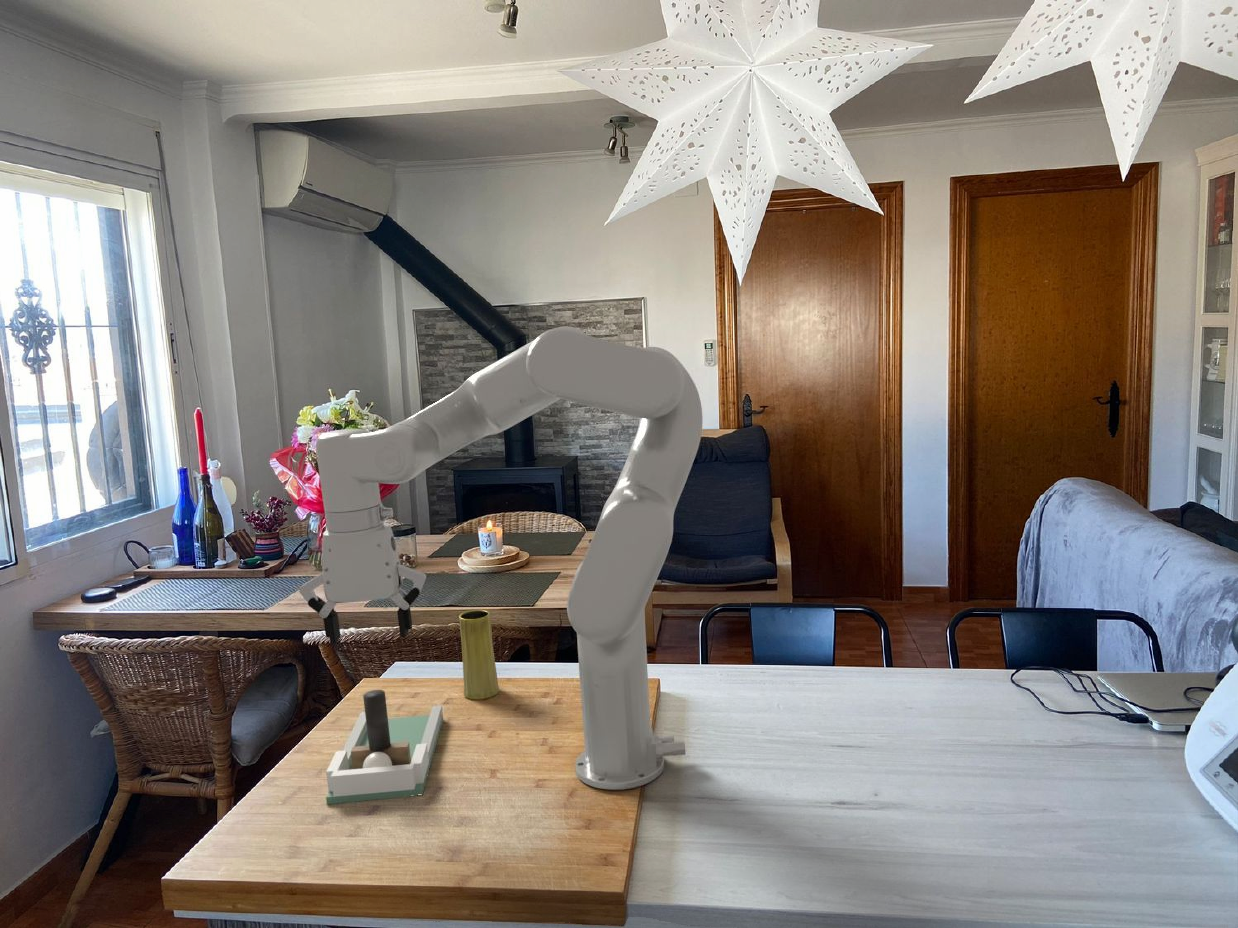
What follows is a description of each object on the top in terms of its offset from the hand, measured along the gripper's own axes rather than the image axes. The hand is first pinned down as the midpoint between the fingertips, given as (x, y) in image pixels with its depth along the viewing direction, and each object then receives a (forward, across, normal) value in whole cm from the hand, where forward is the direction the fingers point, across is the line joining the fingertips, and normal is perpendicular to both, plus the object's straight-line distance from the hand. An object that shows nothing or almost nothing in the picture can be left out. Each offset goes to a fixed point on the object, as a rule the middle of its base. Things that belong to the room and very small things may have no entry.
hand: (370, 637), depth 131 cm
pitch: (+21, +1, -6) cm, 22 cm away
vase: (+21, -11, -27) cm, 36 cm away
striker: (+19, +1, 0) cm, 20 cm away
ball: (+18, +1, +3) cm, 18 cm away
